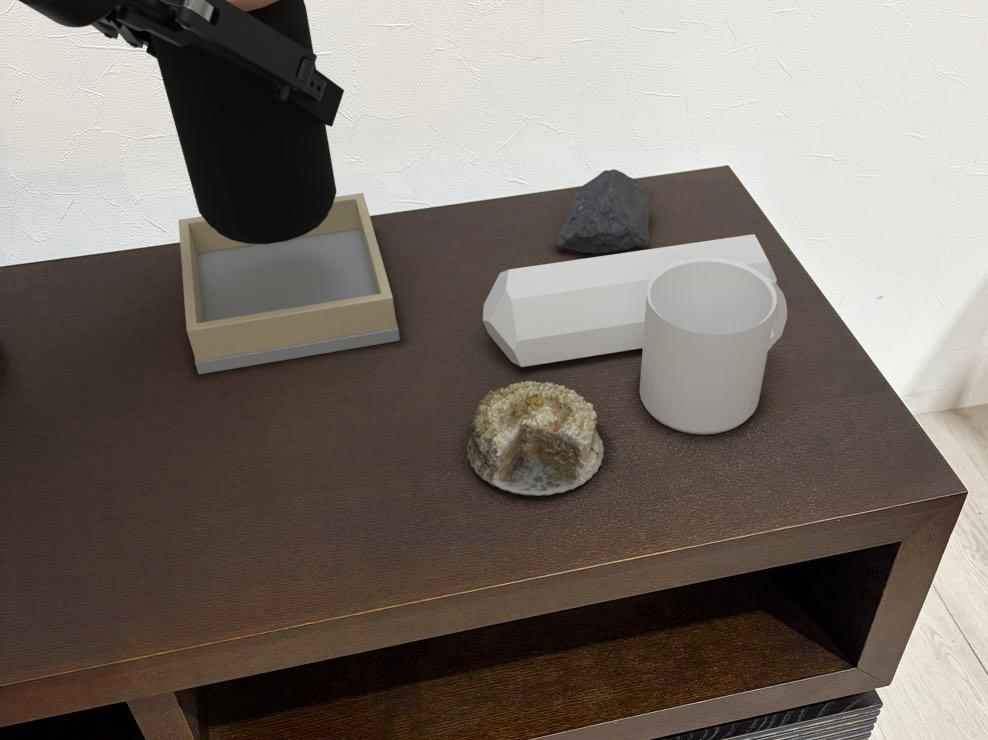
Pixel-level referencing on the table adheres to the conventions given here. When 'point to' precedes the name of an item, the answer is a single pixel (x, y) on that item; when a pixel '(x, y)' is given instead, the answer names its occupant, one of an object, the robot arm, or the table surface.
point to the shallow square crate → (285, 291)
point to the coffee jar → (248, 138)
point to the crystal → (591, 300)
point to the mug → (707, 343)
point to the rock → (607, 215)
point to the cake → (534, 439)
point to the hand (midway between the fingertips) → (273, 89)
